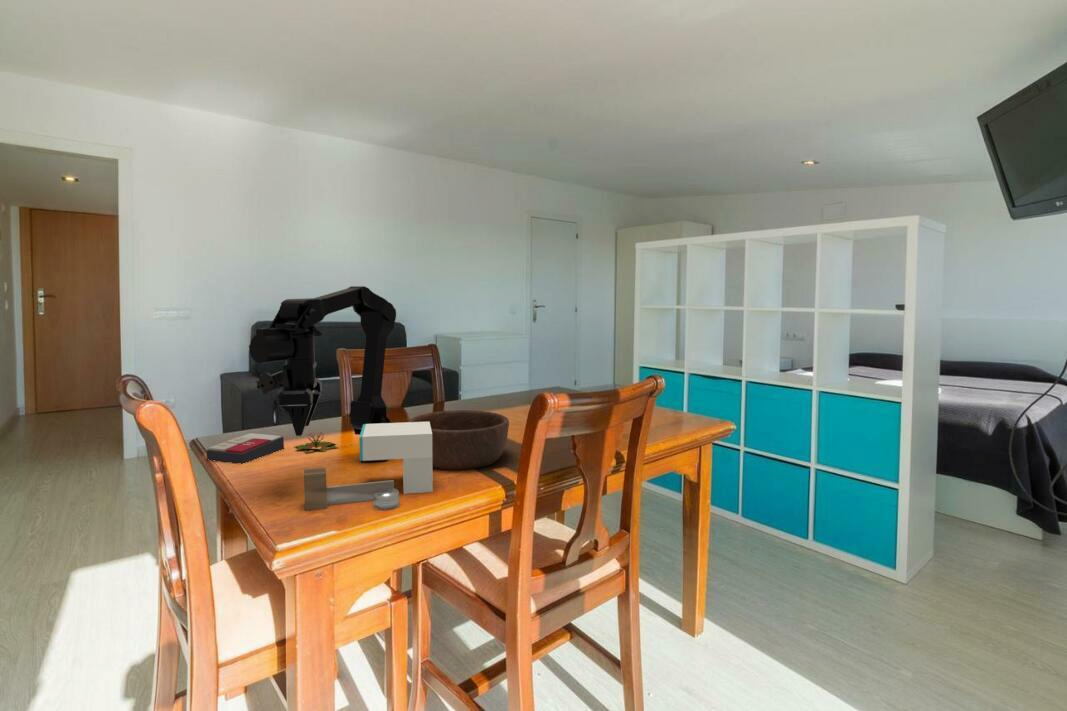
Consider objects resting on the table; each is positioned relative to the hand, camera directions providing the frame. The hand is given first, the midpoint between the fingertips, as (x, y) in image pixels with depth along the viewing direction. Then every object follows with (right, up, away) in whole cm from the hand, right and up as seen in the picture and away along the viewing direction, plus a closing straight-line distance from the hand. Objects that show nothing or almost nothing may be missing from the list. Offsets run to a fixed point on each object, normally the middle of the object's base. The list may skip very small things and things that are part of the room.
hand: (302, 430), depth 125 cm
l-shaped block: (+20, -12, +2) cm, 24 cm away
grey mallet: (+13, -13, -9) cm, 20 cm away
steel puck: (+21, -14, -11) cm, 27 cm away
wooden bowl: (+31, -10, +23) cm, 40 cm away
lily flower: (-9, -9, +32) cm, 34 cm away
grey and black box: (-24, -10, +25) cm, 36 cm away
